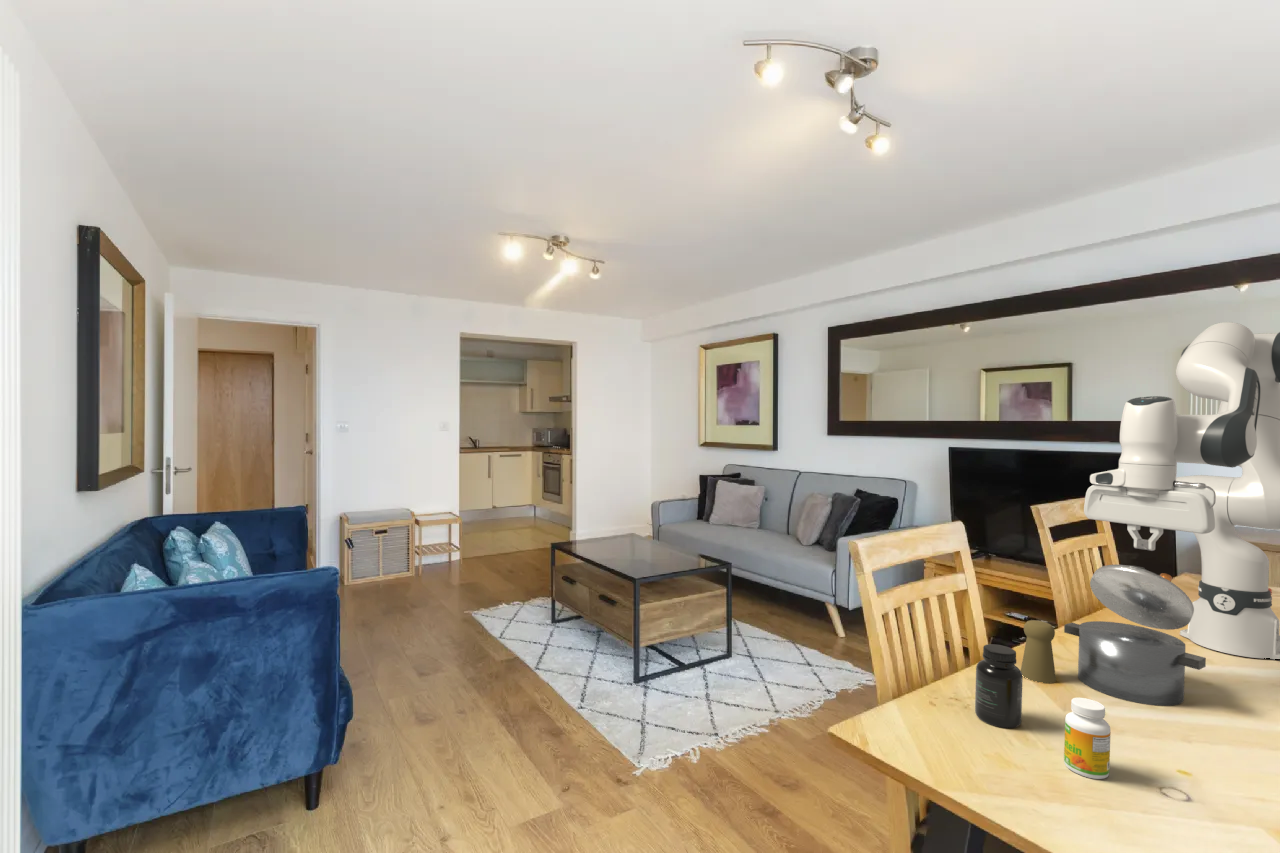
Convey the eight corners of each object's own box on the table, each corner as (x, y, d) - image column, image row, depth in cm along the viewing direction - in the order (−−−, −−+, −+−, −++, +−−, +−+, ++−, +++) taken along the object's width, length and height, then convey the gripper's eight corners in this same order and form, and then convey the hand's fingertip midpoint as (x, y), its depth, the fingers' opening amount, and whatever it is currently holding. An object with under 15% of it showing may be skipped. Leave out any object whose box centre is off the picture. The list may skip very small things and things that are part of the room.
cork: (1061, 684, 120) (1063, 628, 120) (1027, 681, 121) (1028, 625, 121) (1048, 672, 126) (1049, 618, 125) (1015, 669, 127) (1016, 616, 127)
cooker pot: (1085, 659, 133) (1086, 613, 133) (1217, 699, 114) (1219, 645, 114) (1046, 674, 125) (1048, 624, 124) (1182, 720, 106) (1184, 662, 106)
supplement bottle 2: (1054, 759, 93) (1056, 695, 93) (1088, 758, 93) (1090, 694, 93) (1083, 780, 87) (1085, 712, 87) (1119, 779, 88) (1121, 711, 88)
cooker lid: (1102, 615, 130) (1108, 603, 132) (1200, 639, 117) (1206, 625, 118) (1080, 562, 125) (1086, 550, 126) (1180, 581, 111) (1186, 567, 113)
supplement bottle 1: (1000, 708, 109) (1002, 640, 109) (1031, 727, 102) (1033, 655, 102) (965, 711, 108) (967, 642, 108) (994, 730, 101) (996, 657, 101)
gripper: (1222, 483, 114) (1220, 558, 114) (1095, 474, 132) (1093, 538, 132) (1209, 484, 111) (1206, 561, 111) (1081, 474, 129) (1079, 541, 129)
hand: (1144, 549), depth 122 cm, fingers closed
